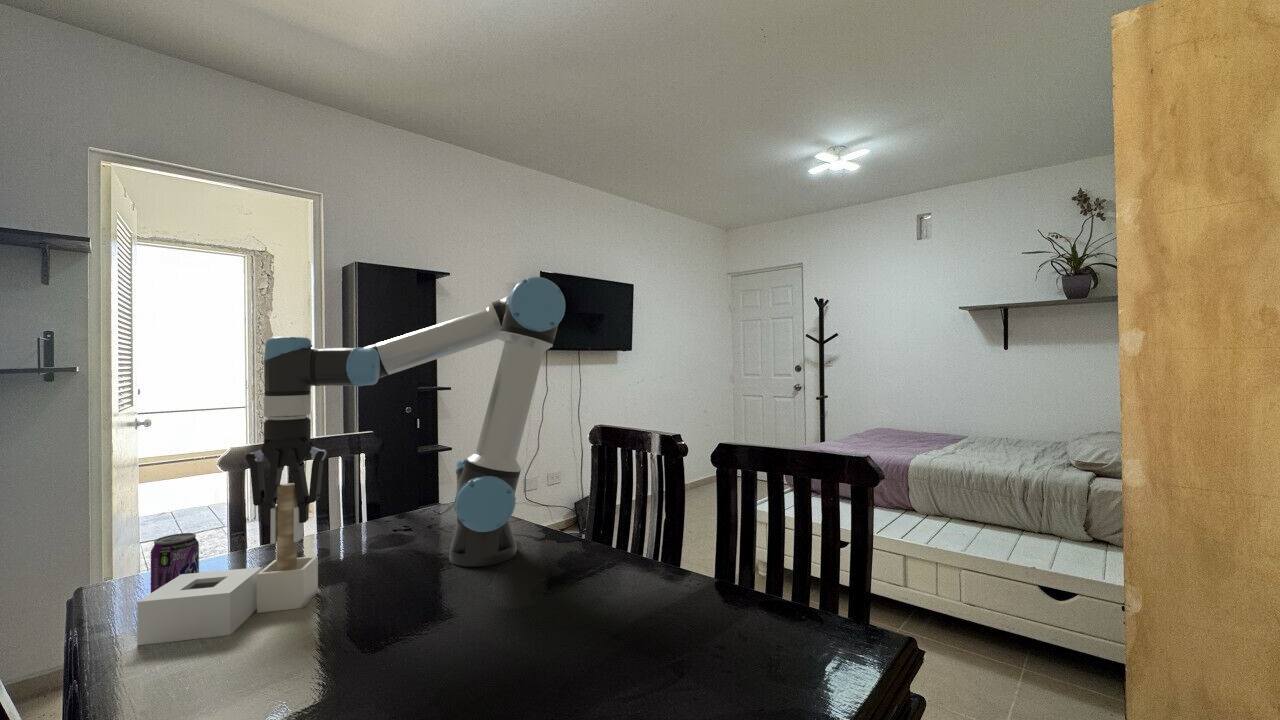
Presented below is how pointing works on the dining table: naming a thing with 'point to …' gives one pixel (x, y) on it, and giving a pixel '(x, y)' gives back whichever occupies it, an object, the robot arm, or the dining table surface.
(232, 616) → the box
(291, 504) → the wooden cylinder rod
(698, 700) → the dining table surface
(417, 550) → the dining table surface
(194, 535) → the beverage can
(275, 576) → the pen cup
